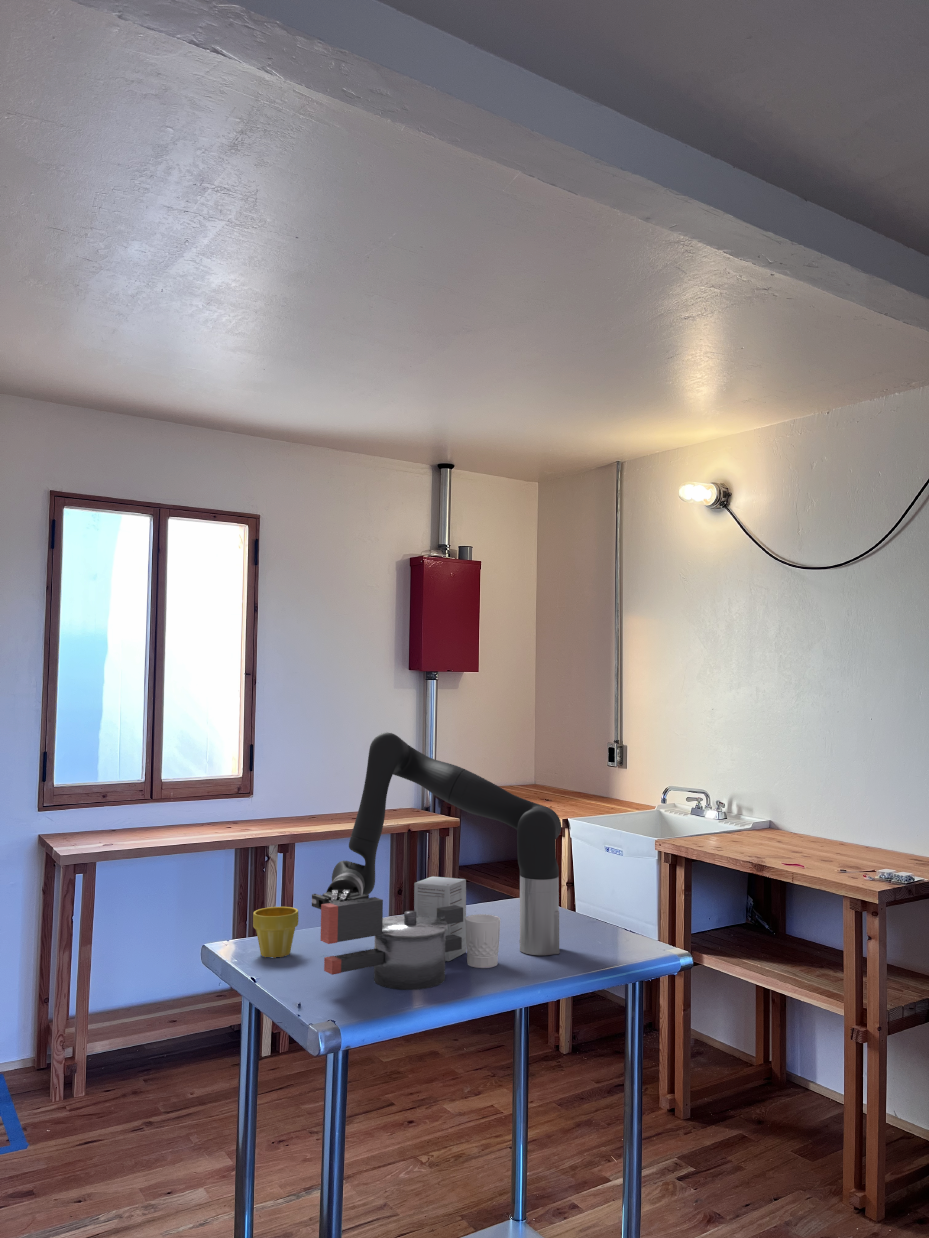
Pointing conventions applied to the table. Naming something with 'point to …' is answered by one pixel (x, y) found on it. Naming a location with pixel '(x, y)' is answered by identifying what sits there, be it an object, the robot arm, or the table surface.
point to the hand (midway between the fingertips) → (334, 909)
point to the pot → (400, 961)
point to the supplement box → (442, 904)
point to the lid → (380, 921)
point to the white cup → (482, 940)
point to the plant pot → (275, 930)
